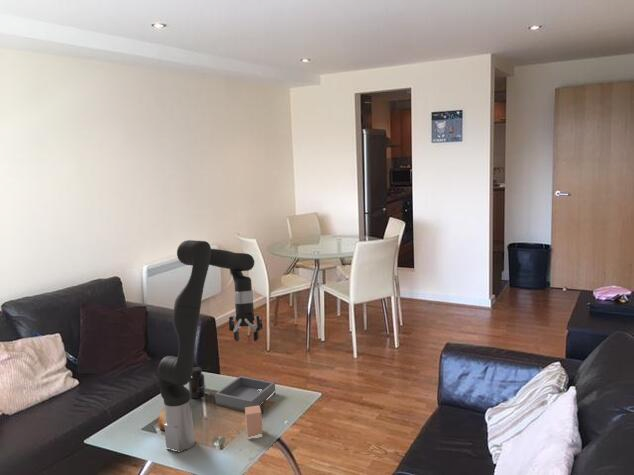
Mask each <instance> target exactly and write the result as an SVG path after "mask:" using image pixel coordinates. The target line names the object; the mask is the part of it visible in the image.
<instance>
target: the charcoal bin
mask: <svg viewBox="0 0 634 475" xmlns="http://www.w3.org/2000/svg"><path fill="white" fill-rule="evenodd" d="M258 389H262V391H261V392H260V391H259V390H258ZM257 390H258V391H257ZM274 391H275V392H276V383H275V382H272V381H268V380H261V379H257V378H253V377H252V378H251V377H248V376H243V375H239V376H238V377H237V378H235V379H234V380H232V381H231V382H229V383H228V384H226V385H225V386H224V387H222V388H221V389H220V390H218V391H217V392H215V394H214V395H215V396H214V397H215V399H214V400H215V405H216V406H221V407H224V408H228V409H234V410H236V411H241V412H245V407H251V406H258V405H260V404H261V403H262V402H264V401H265V400H266V399H267V398H268V397H269V396H270V395H271V394H272V393H273V392H274ZM259 392H260V393H259Z"/></svg>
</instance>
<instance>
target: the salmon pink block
mask: <svg viewBox="0 0 634 475" xmlns="http://www.w3.org/2000/svg"><path fill="white" fill-rule="evenodd" d="M244 414H245V417H244V418H245V427H246V428H245V429H246V431H247V432H246V435H247V436H248V437H251V436H255V435H258V434H262V433H263V419H262V418H263V417H262V410H261V406H260V405H258V406H251V407H245V411H244ZM263 434H264V433H263Z"/></svg>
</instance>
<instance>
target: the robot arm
mask: <svg viewBox="0 0 634 475" xmlns="http://www.w3.org/2000/svg"><path fill="white" fill-rule="evenodd" d="M176 256H177V259H178V261H179V262H180V263H182V264H183V265H185V266H191V267H192V269H191V273H190V276H189V279H188V280H187V282H186V284H185V285H184V286H183V287H182V289H181V290H180V291H179V293H178V295H176V298H175V301H174V306H173V310H172V311H173V312H172V324H173V327H174V330H175V331H174V332H175V334H176V336H177V341H178V342H177V343H178V353H177V356H174V355H166V356H164V357H163V358H162V359H161V360H160V361H159V364H158V367H157V379H158V385H159V391H160V395H161V398H162V399H163V404H164V407H163V408H165V418H166V424H165V425H164V429H165V431H164V436H165V437H164V438H165V446H166V447H167V448H170V449H174V450H177V451H181V450H184V451H186V450H185V449H187V450H189V449H190V448H192V447H193V446H194V445H195V433H194V423H193V411H192V410H193V409H192V401H191V400H192V399H191V397H190V391H189V388H187V387H186V386H185V385H187V384H189V383H188V382H189V381H190V379H191V376H192V372H193V368H194V364H195V348H196V339H197V330H198V324H199V318H200V313H201V305H202V298H203V292H204V287H205V282H206V278H207V276H208V271H209V267H210V266H212V267H215V268H216V267H217V268H222V269H227V270H229V271H230V274H231V276H232V280H233V283H234V305H235V306H234V307H235V308H234V309H235V315H231V316H229V317H228V325H229V326H228V327H229V328H228V330H229V331H230V332H233V339H234V340H235V342H238V341H240V332H239V330H240V329H241V327H249V328H251V329H252V330H253V331H252V332H253V341H254V342H257V341H258V340H259V339H260V338H259V337H260V335H259V334H260V333H259V331H261V330H263V326H264V325H263V322H262V321H263V320H262V318H263V317H262V315H261V314H259V315H255V311H254V309H255V308H254V295H253V290H252V289H253V287H252V279H251V277H250V276H246V275H244V273H243V272H247V271H251V270H252V269H253V268H254V267H255V260H254V257H253V256H252V255H251V254H250V253H246V252H245V253H244V252H234V251H229V250H225V249H217V248H216V249H215V248H212V247H211V245H210V243H209V242H207V241H206V240H193V239H189V240H184V241H182V242H181V243H180V244H179V245H178V247H177V250H176ZM254 321H255V322H254ZM235 322H237V323H236V324H235ZM188 448H189V449H188ZM181 452H182V451H181Z"/></svg>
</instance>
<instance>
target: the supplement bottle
mask: <svg viewBox="0 0 634 475" xmlns="http://www.w3.org/2000/svg"><path fill="white" fill-rule="evenodd" d="M205 381H206V380H205V375H204V373H203V372H202V368H201V367H199V366H195V367H194V366H193V372H192V376H191V379H190V381H189V382H188V383H187V384H188V390H189V391H190V398H192V399H199V398H203V397H205V395H206V382H205Z"/></svg>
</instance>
